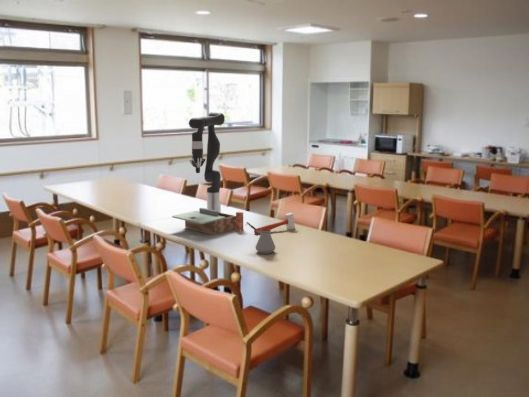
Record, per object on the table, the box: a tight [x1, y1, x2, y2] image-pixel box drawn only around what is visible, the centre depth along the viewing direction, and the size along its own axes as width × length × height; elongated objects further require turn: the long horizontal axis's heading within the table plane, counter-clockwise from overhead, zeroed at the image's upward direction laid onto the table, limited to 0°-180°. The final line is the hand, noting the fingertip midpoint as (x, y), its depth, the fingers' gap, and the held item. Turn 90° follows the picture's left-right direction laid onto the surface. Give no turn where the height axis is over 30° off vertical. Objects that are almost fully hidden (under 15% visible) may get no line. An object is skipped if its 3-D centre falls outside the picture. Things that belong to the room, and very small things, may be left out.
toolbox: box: [184, 212, 236, 236], centre depth 352 cm, size 20×28×9 cm
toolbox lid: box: [171, 207, 226, 224], centre depth 343 cm, size 21×28×4 cm
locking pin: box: [235, 211, 244, 232], centre depth 349 cm, size 3×3×12 cm
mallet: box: [253, 212, 296, 235], centre depth 347 cm, size 11×4×30 cm
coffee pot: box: [244, 221, 276, 255], centre depth 304 cm, size 21×12×15 cm, turn 46°
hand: (197, 172), depth 362 cm, fingers closed
